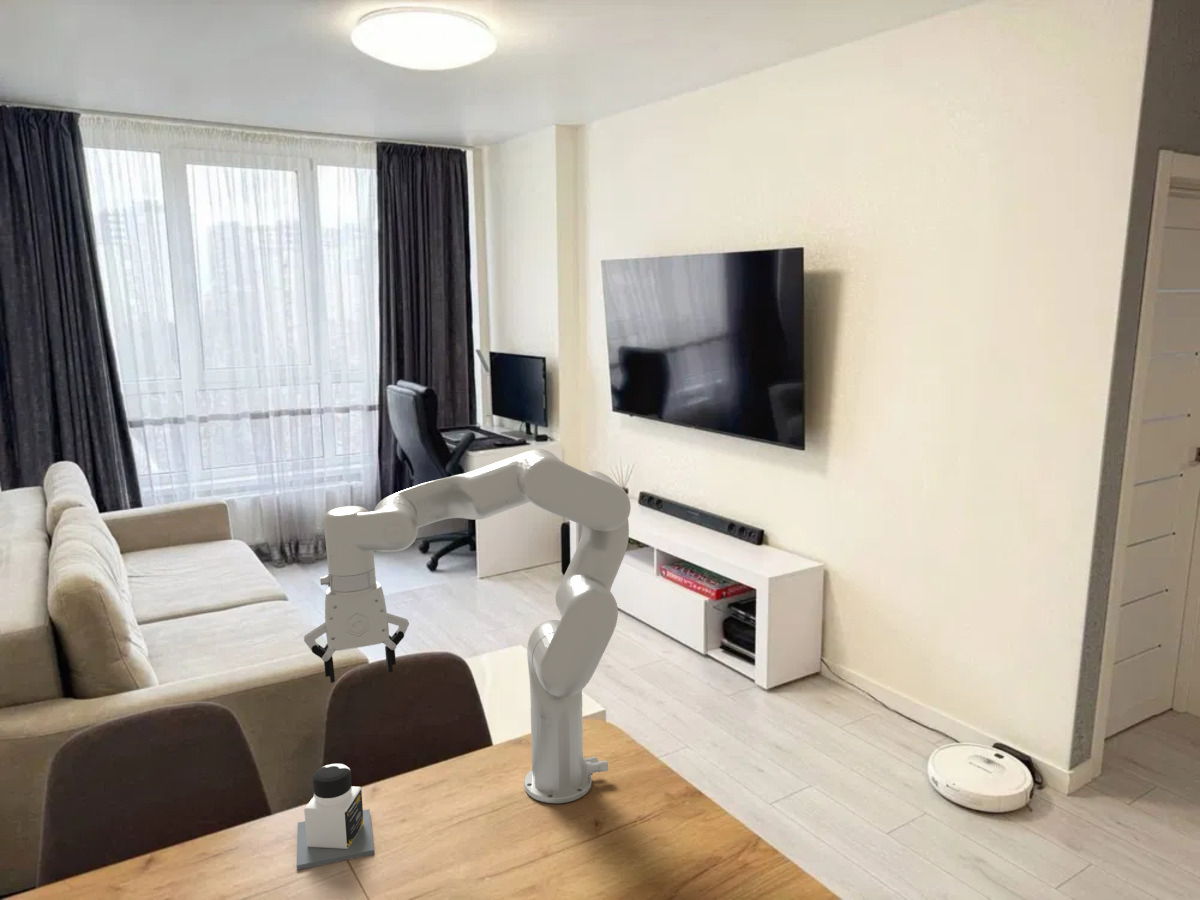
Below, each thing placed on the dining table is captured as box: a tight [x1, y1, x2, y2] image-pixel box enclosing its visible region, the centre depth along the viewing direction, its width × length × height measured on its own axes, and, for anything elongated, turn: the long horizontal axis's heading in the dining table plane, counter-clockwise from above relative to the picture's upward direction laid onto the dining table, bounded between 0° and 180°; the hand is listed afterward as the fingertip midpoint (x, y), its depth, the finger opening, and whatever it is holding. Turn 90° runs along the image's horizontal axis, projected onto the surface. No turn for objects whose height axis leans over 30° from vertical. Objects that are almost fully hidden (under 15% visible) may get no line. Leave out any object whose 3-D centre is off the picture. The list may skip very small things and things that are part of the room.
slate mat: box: [296, 808, 375, 871], centre depth 143 cm, size 12×12×1 cm
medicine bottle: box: [304, 763, 364, 849], centre depth 142 cm, size 7×7×12 cm
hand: (361, 674), depth 147 cm, fingers open, 9 cm apart
